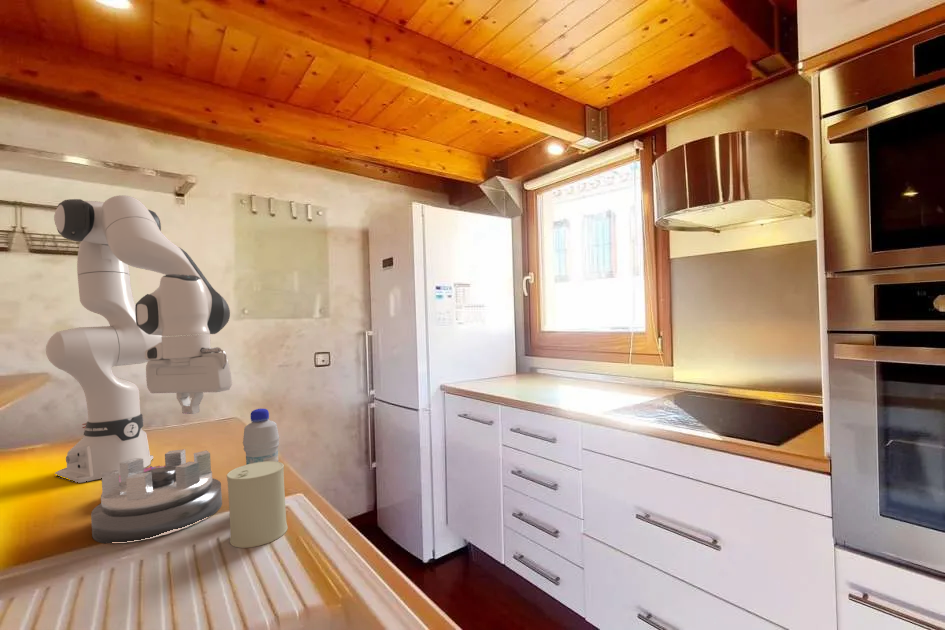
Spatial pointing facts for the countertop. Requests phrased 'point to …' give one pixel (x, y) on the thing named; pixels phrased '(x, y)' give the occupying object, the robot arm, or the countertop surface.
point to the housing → (154, 518)
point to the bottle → (261, 438)
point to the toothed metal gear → (155, 484)
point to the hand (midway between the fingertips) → (191, 413)
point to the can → (256, 504)
